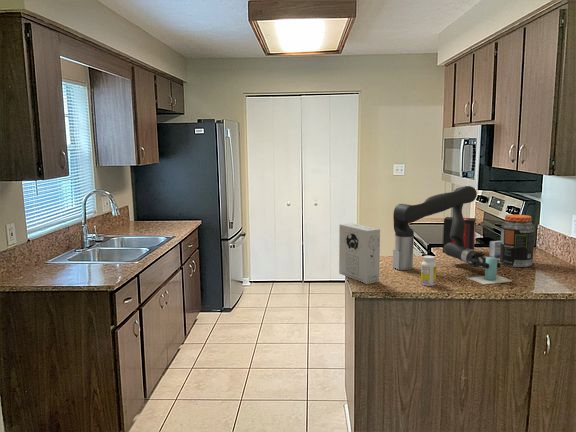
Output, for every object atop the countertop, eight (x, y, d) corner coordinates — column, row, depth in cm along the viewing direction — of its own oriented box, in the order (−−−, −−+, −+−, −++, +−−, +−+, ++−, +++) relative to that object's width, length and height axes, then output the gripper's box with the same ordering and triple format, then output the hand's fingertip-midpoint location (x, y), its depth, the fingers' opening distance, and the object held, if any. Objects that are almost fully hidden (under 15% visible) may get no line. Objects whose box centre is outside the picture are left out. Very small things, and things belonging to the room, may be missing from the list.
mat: (483, 284, 214) (483, 283, 214) (466, 277, 225) (466, 276, 225) (512, 281, 218) (512, 280, 218) (494, 274, 230) (494, 273, 230)
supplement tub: (531, 262, 253) (534, 214, 250) (533, 269, 239) (537, 218, 235) (499, 259, 260) (501, 213, 256) (499, 266, 245) (502, 217, 241)
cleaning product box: (442, 252, 278) (444, 218, 275) (444, 249, 286) (446, 216, 283) (472, 255, 271) (474, 220, 268) (474, 251, 279) (475, 218, 276)
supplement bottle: (433, 281, 219) (434, 254, 217) (437, 286, 212) (439, 258, 210) (418, 282, 219) (419, 255, 217) (423, 286, 212) (424, 258, 210)
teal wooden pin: (489, 281, 218) (491, 259, 216) (482, 278, 222) (483, 257, 221) (498, 280, 219) (500, 259, 218) (490, 277, 224) (492, 256, 222)
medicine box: (494, 257, 264) (494, 242, 263) (488, 255, 269) (489, 240, 267) (506, 256, 266) (506, 241, 265) (500, 254, 271) (501, 240, 269)
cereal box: (379, 282, 220) (380, 229, 216) (366, 284, 216) (367, 230, 212) (351, 271, 238) (351, 222, 234) (338, 273, 234) (339, 224, 231)
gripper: (459, 251, 232) (480, 259, 216) (485, 249, 235) (508, 257, 219) (459, 265, 233) (479, 274, 217) (484, 264, 236) (507, 272, 220)
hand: (494, 266), depth 218 cm, fingers open, 5 cm apart
